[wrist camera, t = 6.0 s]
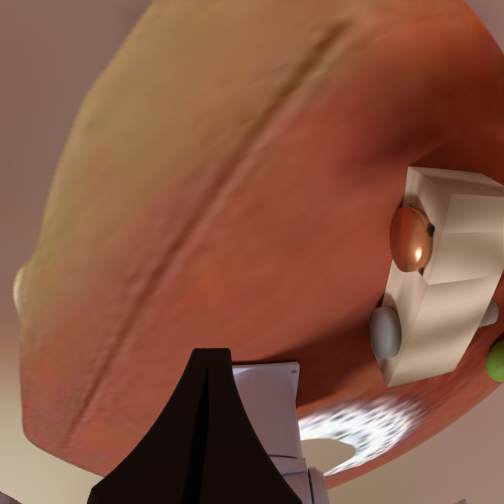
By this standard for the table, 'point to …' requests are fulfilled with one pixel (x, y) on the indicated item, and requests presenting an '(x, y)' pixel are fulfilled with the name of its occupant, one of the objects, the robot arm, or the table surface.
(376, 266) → the table surface
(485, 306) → the beige block with pegs
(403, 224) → the lynch pin
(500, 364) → the snail figurine
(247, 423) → the robot arm
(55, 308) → the table surface
